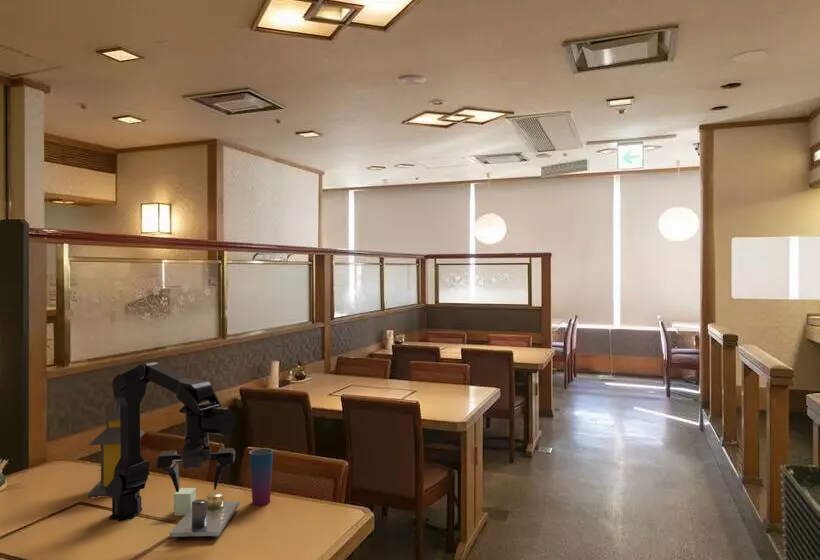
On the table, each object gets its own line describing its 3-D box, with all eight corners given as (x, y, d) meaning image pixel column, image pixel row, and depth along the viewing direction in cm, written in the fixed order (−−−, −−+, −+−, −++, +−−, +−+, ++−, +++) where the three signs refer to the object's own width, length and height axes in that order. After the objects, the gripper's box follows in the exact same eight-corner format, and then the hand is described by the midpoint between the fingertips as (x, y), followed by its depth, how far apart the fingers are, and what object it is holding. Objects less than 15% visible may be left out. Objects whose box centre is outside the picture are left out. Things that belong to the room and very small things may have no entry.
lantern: (137, 494, 174) (137, 396, 174) (86, 498, 171) (86, 398, 171) (147, 479, 188) (147, 388, 188) (100, 482, 185) (100, 390, 185)
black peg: (189, 528, 144) (189, 504, 144) (194, 522, 148) (194, 499, 148) (204, 528, 144) (204, 504, 144) (208, 522, 148) (208, 499, 148)
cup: (266, 507, 163) (266, 455, 163) (245, 506, 164) (244, 454, 165) (277, 498, 170) (276, 448, 170) (256, 497, 171) (255, 447, 171)
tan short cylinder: (204, 508, 156) (204, 498, 157) (209, 502, 161) (209, 492, 161) (220, 508, 157) (220, 497, 157) (225, 502, 161) (225, 491, 161)
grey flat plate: (169, 542, 142) (169, 532, 142) (197, 510, 162) (197, 501, 162) (218, 541, 142) (218, 531, 142) (239, 509, 162) (239, 501, 162)
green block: (174, 515, 158) (174, 494, 158) (180, 509, 163) (180, 488, 163) (190, 515, 158) (190, 493, 158) (196, 508, 163) (195, 487, 163)
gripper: (150, 441, 138) (150, 505, 138) (230, 437, 142) (230, 500, 142) (161, 429, 149) (161, 488, 149) (235, 426, 153) (235, 484, 153)
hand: (196, 490), depth 148 cm, fingers open, 9 cm apart
